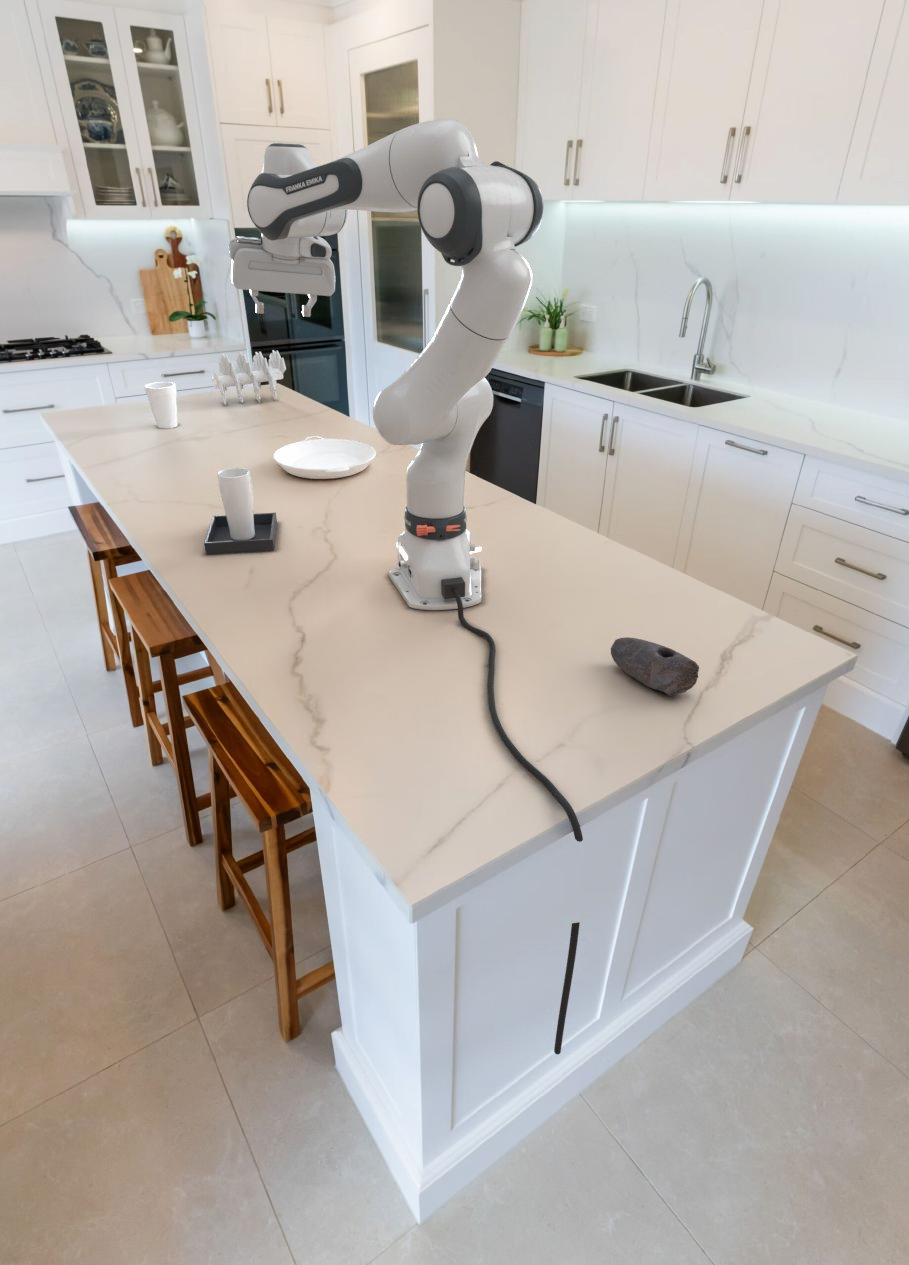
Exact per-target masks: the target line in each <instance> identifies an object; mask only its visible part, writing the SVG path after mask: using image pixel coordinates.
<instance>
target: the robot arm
mask: <svg viewBox="0 0 909 1265" xmlns="http://www.w3.org/2000/svg"><path fill="white" fill-rule="evenodd" d="M261 170H262V171H261V173H259V174H258V175H257V176H256V178H255V179H254V181H253V182H252V184H251V186H250V188H249V191H248V194H247V199H246V206H247V207H246V208H247V212H248V215H249V218H250V220H251V222H252V223H253V225H254V227H256V229H257V230H258V231H259V232H260V234H261V236H260V237H253V236H252V237H251V236H249V237H247V236H243V235H238V236H236V237H235V238H233V239H232V240H230V242H229V244H228V245H229V246H228V252H229V253H228V254H229V257H230V259H231V267H230V268H231V269H230V280H231V284H232V286H234V288H235V289H236V290H244V291H249V294H250V296H251V298H252V300H253V302H254V305H255V307H254V308H255V313H256V314H265V311H264V310H265V305H264V302H262V301H259V300H258V298H257V297H259V292H270V293H281V294H283V293H285V294H298V295H307V296H308V298H309V299H308V301H307V303H306V304H302V305H301V309H302V310H301V314H302V317H307V318H310V317H311V316H312V308H313V307H314V306H315V304H316V302H318V296H325V297H332V295H333V294H334V293H335V292H336V270H335V264H334V263H333V261H332V260H331V257H332V255H333V254H332V253H333V252H332V250H333V249H332V246H331V245H330V244H329V242H327V240H326V239H324V238H323V237H328V236H332V235H336V234H339V233H340V232H341V231H342V229H343V228H344V226H345V224H346V223H347V222H346V221H347V217H348V210H349V211H365V212H375V213H393V214H394V213H395V214H396V213H398V214H399V213H410V212H415V211H416V213H417V219H418V221H419V225H420V226H419V227H420V228H421V231H422V233H423V235H424V236H425V238H426V239H427V241H428V242H429V244H430V245H431V246H432V247H433V248H434V249H435V250H436V251H438V252H439V253H440V254H441V256H442V258H443V260H444V261H445V263H447V264H448V265H450V266H453V267H461V276H460V278H459V282H458V284H457V286H456V288H455V290H454V292H453V294H452V296H451V298H450V300H449V303H448V305H447V307H446V309H445V310H444V313H443V315H442V317H441V319H440V321H439V323H438V325H437V327H436V330H435V331H434V333H433V335H432V337H431V338H430V340H429V341H428V343H426V345H425V347H424V348H423V349H422V350H421V351H420V353H419V355H417V356H416V357H415V359H414V360H413V362H411V364H410V365H409V366H408V367H407V368H406V370H404V372H403V373H402V374H401V375H399V377H397V379H395V381H393V382H392V383H391V384H389V385H388V386H387V387H386V388H384V389H382V390H381V391H380V392H379V393H377V395H376V397H375V399H374V402H373V406H372V419H373V425H374V427H375V429H376V431H377V433H378V434H379V436H380V437H381V438H382V440H384V441H385V442H386V443H388V444H390V445H392V446H417V445H420V448H419V450H418V452H417V453H416V455H414V457H413V458H412V459H411V460H410V462H409V464H408V465H407V469H406V473H405V483H406V485H405V487H406V506H405V507H404V515H403V519H404V527H405V528H404V530H403V531H402V533H400V534H399V535H398V537H397V542H396V548H397V566H396V567H395V568H392V569H391V570H389V572H388V577H389V579H390V580H391V582H392V584H393V585H394V586H395V588H396V589H397V591H398V592H399V594H400V595H401V597H402V598H403V600H404V601H405V603H406V605H407V606H408V607H409V608H411V609H415V610H420V611H421V610H423V611H446V610H448V611H449V610H457V616H458V620H459V622H460V624H461V625H462V626H463V628H465V629H466V630H468V631H470V632H472V633H473V634H475V635H478V636H481V637H483V638H484V639H485V640H486V641H487V642H488V645H489V654H488V672H487V702H488V709H489V713H490V717H491V721H492V723H493V726H494V728H495V730H496V732H497V734H498V736H499V738H500V740H501V741H502V743H503V744H504V746H505V747H506V748H507V750H508V751H509V752H510V754H511V755H512V756H513V757H514V759H515V760H516V761H517V762H518V763H519V764H520V765H521V766H522V767H523V768H524V769H525V770H526V771H527V772H529V774H531V775H532V776H533V777H534V778H535V779H537V780H538V781H539V783H541V784H542V785H543V786H544V787H545V789H547V791H548V792H549V793H550V795H552V797H553V798H554V799H555V800H556V802H558V804H559V805H560V806H561V808H562V809H563V811H564V812H565V814H566V816H567V818H568V819H569V822H570V825H571V829H572V832H573V837H574V839H575V841H576V842H579V843H580V842H582V841H583V840H584V837H583V833H582V829H581V825H580V822H579V819H578V817H577V814H576V812H575V810H574V808H573V807H572V805H571V804H570V802H569V801H568V800H567V798H566V797H565V796H564V795H563V794H562V792H560V790H559V789H558V788H557V787H556V786H555V785H554V784H553V782H552V781H551V780H550V779H548V777H547V776H545V774H544V773H542V772H541V771H540V770H539V769H538V768H536V767H535V766H534V765H533V764H532V763H531V762H530V761H529V760H527V759H526V758H525V757H524V756H523V754H522V753H521V752H520V751H519V749H518V748H517V747H516V746H515V745H514V743H513V742H512V741H511V739H510V738H509V736H508V735H507V733H506V731H505V729H504V728H503V725H502V723H501V721H500V719H499V715H498V713H497V708H496V701H495V700H496V699H495V690H494V689H495V688H494V682H495V671H496V670H495V667H496V666H495V661H496V643H495V640H494V639H493V637H492V635H490V633H488V632H487V631H484V630H482V629H480V628H477V627H474V626H472V625H470V624H469V622H467V620H466V618H465V615H464V609H465V608H470V607H472V606H475V605H478V604H480V603H482V567H481V565H480V558H479V557H472V554H474V553H479V552H482V547H481V546H478V547H476V544H473V543H472V532H471V531H470V530H469V529H467V520H468V519H467V510H466V506H465V485H466V484H465V482H466V470H467V465H468V460H469V457H470V454H471V450H472V448H473V445H474V442H475V439H476V437H477V435H478V433H479V431H480V430H481V427H482V426H483V424H484V423H485V422H486V420H487V419H488V418H489V416H490V415H491V413H492V410H493V408H494V393H493V390H492V389H493V388H492V387H491V385H490V382H489V381H488V380H487V378H486V377H487V376H488V375H489V374H490V372H491V371H492V369H493V367H494V366H495V364H496V362H497V360H498V358H499V356H500V355H501V353H502V351H503V349H504V348H505V346H506V344H507V342H508V341H509V339H510V337H511V335H512V333H513V331H514V329H515V327H516V326H517V323H518V321H519V320H520V317H521V315H522V313H523V310H524V307H525V305H526V303H527V301H528V300H527V299H528V298H529V293H530V290H531V287H532V284H533V272H532V269H531V266H530V264H529V261H528V260H527V258H525V257H524V255H522V254H521V253H520V252H519V251H517V248H516V247H519V246H521V245H523V244H525V243H527V242H528V241H529V240H531V239H532V237H534V236H535V235H536V233H537V232H538V230H539V229H540V227H541V224H542V222H543V218H544V213H545V212H544V211H545V204H544V198H543V197H544V196H543V194H542V191H541V188H540V186H539V184H538V183H537V181H535V180H534V179H532V177H530V176H529V175H528V174H525V173H524V172H522V171H520V170H518V169H516V168H513V167H510V166H508V165H506V164H504V163H502V162H500V161H497V160H495V161H493V162H492V163H490V164H486V163H485V162H483V161H482V160H481V158H480V157H479V154H478V148H477V145H476V141H475V138H474V137H473V134H472V133H471V131H470V130H469V129H468V127H467V126H466V125H465V124H464V123H462V122H461V121H459V120H457V119H454V118H438V119H437V118H436V119H432V120H430V119H429V120H426V121H422V122H419V123H418V122H417V123H415V124H411V125H409V126H406V127H404V128H401V129H399V130H397V131H394V132H393V133H391V134H390V133H389V135H386V136H385V137H382V138H380V139H378V140H376V141H374V142H372V143H370V144H368V145H366V146H364V147H362V148H360V149H357V150H355V151H353V152H350V153H348V154H346V155H344V156H342V157H340V158H338V159H335V160H333V161H330V162H327V163H325V164H322V165H317V164H316V162H315V161H314V160H313V157H312V155H311V152H310V150H309V148H308V147H307V146H305V145H303V144H298V143H283V142H277V143H276V142H273V143H270V144H269V145H267V146H266V148H265V151H264V155H263V161H262V169H261ZM451 260H452V261H451ZM580 924H581V922H573V923H571V926H570V937H569V945H568V951H567V952H568V953H567V958H566V960H567V961H566V967H565V973H564V978H563V980H564V981H563V987H562V993H561V999H560V1004H559V1005H560V1006H559V1013H558V1018H557V1025H556V1032H555V1039H554V1042H555V1043H554V1049H553V1052H554V1054H555V1055H560V1054H561V1052H562V1045H563V1037H564V1031H565V1024H566V1018H567V1012H568V1007H569V1006H568V1004H569V1000H570V993H571V987H572V981H573V976H574V969H575V962H576V955H577V947H578V940H579V933H580Z"/></svg>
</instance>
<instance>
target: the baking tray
mask: <svg viewBox="0 0 909 1265" xmlns="http://www.w3.org/2000/svg"><path fill="white" fill-rule="evenodd" d="M253 514H254V529H255V536H254V538H252V539H250V540H236V541H235V540H233V539H232V538H231V536H230V530H229V526H228V522H227V518H226V514H224V515H223V514H221V515H212V517H211V520H210V524H209V526H208V530H207V533H206V536H205V539H204V543H203V544H204V549H205V555H206V556H212V555H226V554H228V555H229V554H244V553H247V554H248V553H262V552H275V547H276V538H277V530H278V518H277V512H260V513H258V512H257V513H253Z"/></svg>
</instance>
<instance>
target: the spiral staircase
mask: <svg viewBox="0 0 909 1265" xmlns="http://www.w3.org/2000/svg"><path fill="white" fill-rule="evenodd" d="M271 351H272V352H270V354H269V356H268V357H269V359H268V360H267V357H264V356H263V353H262V351H255V352H254V353H255V354H254V355H253V357H252V362H251V361H248V359H247V355H246V353H242V350H241V351H239V352H238V354H237V355H236V356H235V357H236V358H235V367H234V363H233V361H230V359H229V357H228V354H227V353H226V354H224V353H221V356H220V357H219V359H218V361H219V362H218V371H219V372H218V373H217V371H216V370H215V369H213V376H211V383H212V387H213V389H214V390H216V389H219V393H220V396H221V400H222V403H223V404H224V406H227V398H226V391H228V388H230V387H235V389H236V393H237V398H238V399H239V402H240V403H241V404H244V397H243V389H244V388H245V387H244V386H245V385H251V384H252V388H253V393H254V396H255V399H256V401H257V402H258V404H259V403H261V395H260V389H262V386H261V385H262V384H261V383H265V382H268V389H269V391H270V395H271V397H272V398H273V400H274V402H276V401H277V398H278V396H277V388H276V387H278V382H277V381H279V380H283V379H284V373H285V372H286V371H287V367H286V362H285V358H284V357H281V354H280V352H279V350H275V349H272V350H271ZM251 363H252V364H251Z"/></svg>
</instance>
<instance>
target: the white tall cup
mask: <svg viewBox="0 0 909 1265" xmlns="http://www.w3.org/2000/svg"><path fill="white" fill-rule="evenodd" d="M217 483H218V488H219V493H220V494H219V495H220V497H221V502H222V505H223V506H222V507H223V510H224V513H225V514H224V515H226V518H227V522H228V526H229V530H230V536H231V538H232V539H233V540H235V541H236V540H250V539H252V538H254V536H255V529H254V514H255V513H254V495H253V494H254V493H253V483H252V477H251V471H250V470H249V469H248V468H244V467H229V468H224V469H221V470H219V472H217Z"/></svg>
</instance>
